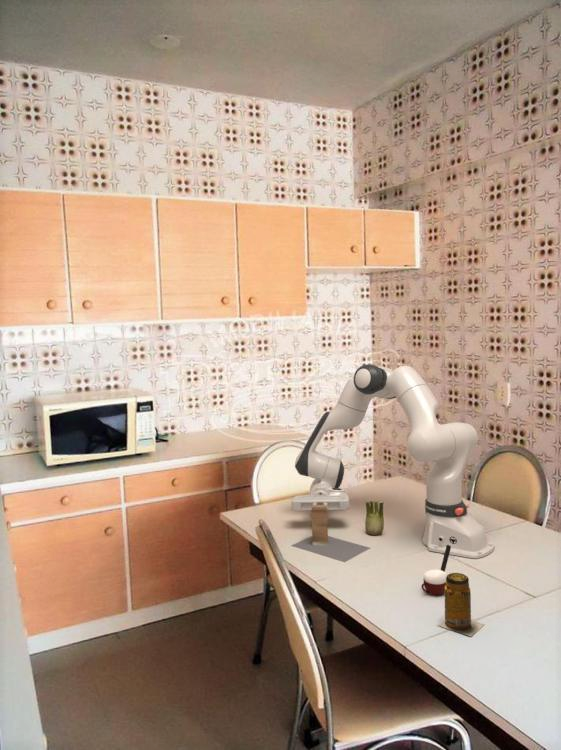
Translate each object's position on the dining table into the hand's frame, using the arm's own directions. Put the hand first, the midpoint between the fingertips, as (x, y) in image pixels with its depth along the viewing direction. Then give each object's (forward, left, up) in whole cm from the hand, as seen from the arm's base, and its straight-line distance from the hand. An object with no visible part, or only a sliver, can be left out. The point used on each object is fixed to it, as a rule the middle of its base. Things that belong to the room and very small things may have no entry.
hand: (320, 510), depth 206 cm
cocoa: (-51, +13, -10) cm, 53 cm away
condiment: (-64, +25, -10) cm, 69 cm away
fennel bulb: (-14, -12, -10) cm, 21 cm away
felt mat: (-9, +6, -9) cm, 14 cm away
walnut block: (-4, +5, -9) cm, 11 cm away
